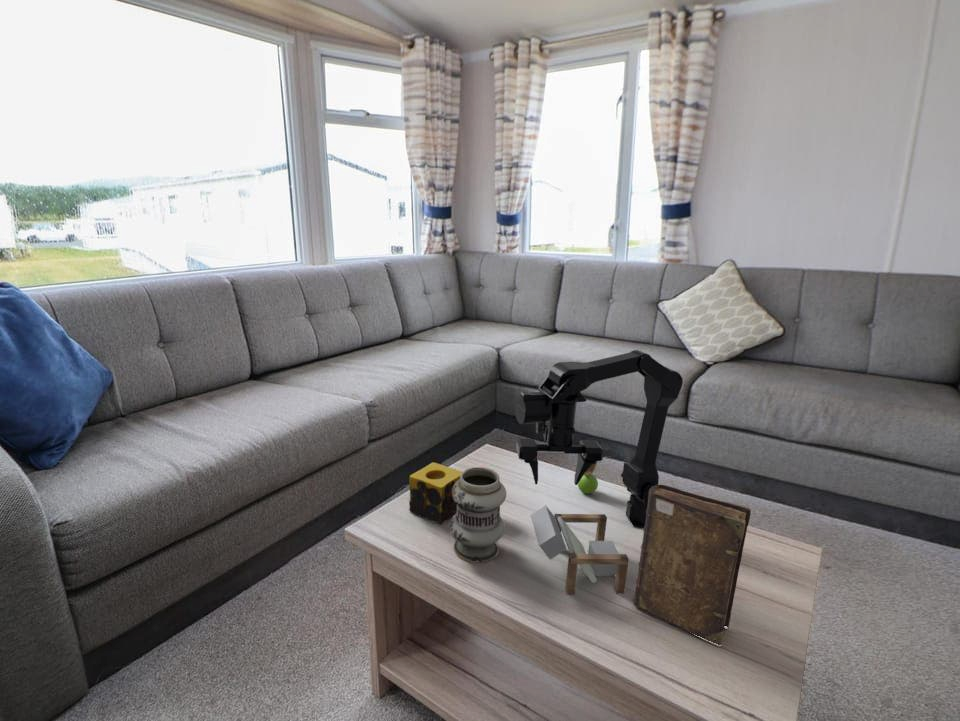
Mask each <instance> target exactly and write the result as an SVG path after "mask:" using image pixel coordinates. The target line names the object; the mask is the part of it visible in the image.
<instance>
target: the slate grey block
mask: <svg viewBox="0 0 960 721" xmlns="http://www.w3.org/2000/svg"><path fill="white" fill-rule="evenodd" d="M588 541H589V544H588V550H587V554H620V553H619V551H618V550H617V547H616V546H615V544H614V541H613V540H604V541H595V540H588ZM591 567H592V569H593V572H594V574H595V577H596V576H597V577H598V576H599V577H601V576H602V577H603V576H610V575H611V576H612V575H616V572H617V564H591ZM612 577H613V576H612Z"/></svg>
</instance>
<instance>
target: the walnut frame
mask: <svg viewBox="0 0 960 721" xmlns="http://www.w3.org/2000/svg"><path fill="white" fill-rule="evenodd" d="M553 515H554V517H555V518H556V520H557V523H558V526H559V529H560V531H561V528H560V525H559V522H558V519H557V518H558V517H559V516H561V517H562V519H563V520H564V521H565V523H574V524H575V523H579V524H580V523H585V524H586V523H587V524H591V523H593V524H596V534H595V540H594V541H605V539H606V538H605V537H606V528H607V520H608V517H607V515H606V514H605V513H600V514H599V513H595V514H594V513H588V514H587V513H554V514H553ZM561 532H562V531H561ZM629 561H630V558H629V557H628V555H627V554H626V553H624V554H621V553H619V554H588V553H586V554H570V553H569V554H568V562H567V568H566V569H567V570H566V571H567V572H566V579H565V588H564V589H565V592H566V594H567V595H575V592H576V591H575V590H576V584H577V583H576V582H577V574H578V566H579V565H578V564H617V572H616V576H615V581H614V592H615V594H616V595H624V594H625V591H626V590H625V588H626V587H625V586H626V580H627V574H628V568H629Z"/></svg>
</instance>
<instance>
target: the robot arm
mask: <svg viewBox="0 0 960 721" xmlns="http://www.w3.org/2000/svg"><path fill="white" fill-rule="evenodd" d="M633 373H634V374H635V373H639V374H640V375H641V376H643V378H644V379H643V390H644V394H645V398H646V406H645V409H644V414H643V418H642V423H641V428H640V433H639V435H638V436H639V437H638V441H637V446H636V451H635V455H634V457H633V458H632V459H631V460H630V461H625V462H624V463H623V467H622V468H623V469H622V473H621V474H620V478H622V484H623V485H624V486H625V487H626V490H627V491H628V492H629V493H630V495H629V500H627V503H626V510H625V513H626V514H625V513H624V514H625V516H626V517H627V519H628V521H629V522H630V524H631V523H632V524H631V526H632V525H633V526H635V527H634V528H644V527H645V521H646V510H647V506H648V496H649V490H650V488H651V487H653V486H656V485H659V480H660V477H659V472H658V467H657V458H658V454H659V449H660V447H661V446H660V445H661V441H662V437H663V432H664V427H665V424H666V421H667V415H668V411H669V408H670V406H672V404H673V403H674V402H675V401H676V400H678V398H679V394H680V392H681V390H682V387H683V383H684V378H683V376H682V375H681V374H680V373H679V372H678V371H676V370H674V369H671V368H669V367H667V366H664V364H661V363H659V362H658V360H656V359H654V358H653V357H652V356H651V354H649V353H646V352H645V351H644V352H643V351H642V350H639V349H634V350H631V351H630V352H626V353H623V354H617V355H613V356H609V357H606V358H605V357H603V358H601V359H597V360H593V361H587V362H585V361H584V362H580V361H559V362H557V363H554V364H553V365H552V367H551V368H550V370H549V373H548V374H547V376H546V377H545V378H544V380H543V381H542V383H541V384H540V385H539V386H538V387H537V391H533V392H532V391H531V392H529V391H521V392H519V393H520V395H519V397H518V399H517V400H516V403H515V405H514V413H515V417H516V421H517V422H518V423H519V425H526V424H527V425H528V424H529V425H530V424H535V433H536V434H537V435H538V434H539V435H543V440H544V442H545V444H541V443H539V444H538V443H536V440H535V438H518V439H517V441H516V444H515V445H516V447H515V450H516V452H517V456H518V459H519V460H521V461H522V460H523V462H524V463H525V464H528V465H529V466H530V469H531V473H532V476H533V481H534V484H535V485H538V482H539V460H538V454H570V455H571V454H572V455H573V454H575V455H577V462H576V463H577V464H576V467H575V468H576V469H575V473H574V479H573V480H574V481H573V482H574V485H575V486H578V483H579V481H580V480H581V478H582V477H583V475H584V474H585V472H586V471H587V470H588V469H589V467H590V466H591V465H592V464H596V461H597V462H602V461H603V460H604V459H603V458H604V449H603V448H602V447H601V445H600V444H599V442H598V441H597V440H596V439H580V440H579V444H573V443H574V435H575V432H576V428H575V424H576V423H575V422H576V413H577V412H576V411H577V403H586V402H587V398H586V397H585V396H584V395H583V394H582V393H581V392H583V391H585V390H587V389H588V388H589V387H590V386H591V385H592V384H595V383H597V382H601V381H604V380H605V381H606V380H609V379H613V378H614V379H615V378H618V377H621V376H625V375H628V374H629V375H630V374H633ZM554 387H555V388H556V389H557V390H555V389H553V388H554ZM633 526H632V527H633ZM638 526H639V527H638Z"/></svg>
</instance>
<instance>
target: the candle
mask: <svg viewBox="0 0 960 721" xmlns="http://www.w3.org/2000/svg"><path fill="white" fill-rule="evenodd" d="M462 472H463V471H461V470H460V469H455V468H452V467H450V466H449V467H448V466H446V465H443V464H440V463H437V462H431V463H429V464H428V465H426V466H425V467H423V468H421V469H419V470H418V471H415V472H414V473H411V474H410V475H409V479H408V480H409V481H408V483H409V484H408V485H409V486H408V487H409V501H408V502H409V504H408V505H409V509H408V510H409V512H410V513H412V514H415V515H417V516H419V517H422V518H424V519H426V520H429V521H432V522H433V523H436V524H439V525H443V523H445V522H446V521H448V520H449V519H452V517H453V516H454V515H455V514H456V509H457V503H456V502H455V501H454V499H453V497H452V488H453V486H454V484H455V483H456V482H457V481H458V480H459V479H460V475H461V473H462Z"/></svg>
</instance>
